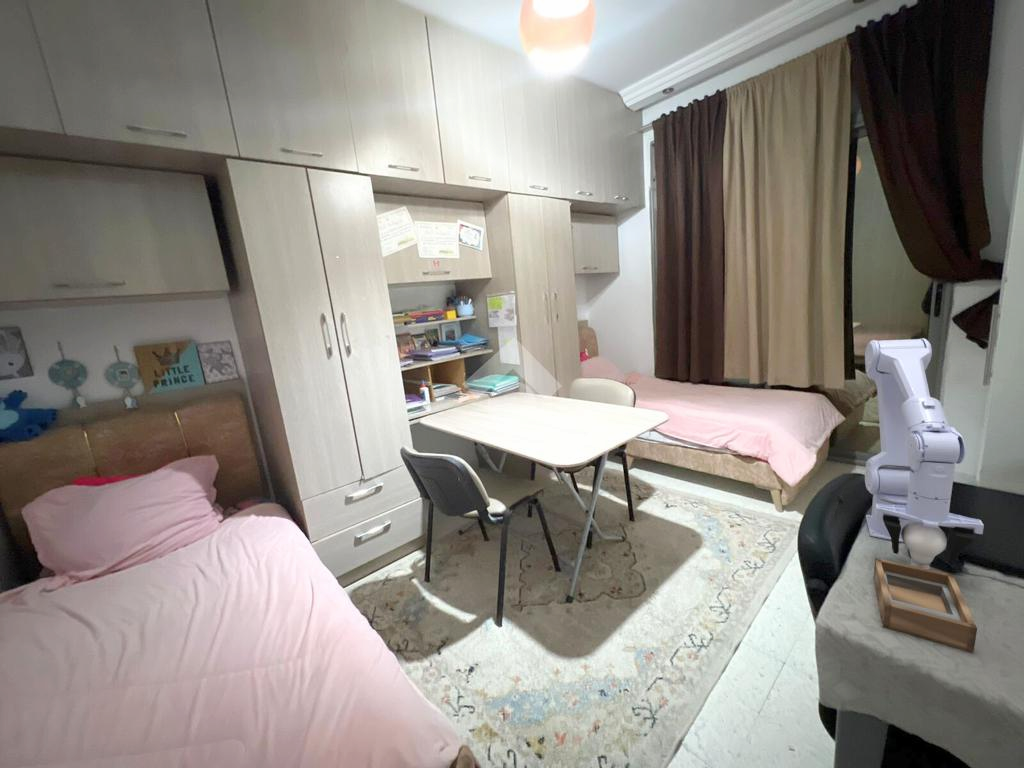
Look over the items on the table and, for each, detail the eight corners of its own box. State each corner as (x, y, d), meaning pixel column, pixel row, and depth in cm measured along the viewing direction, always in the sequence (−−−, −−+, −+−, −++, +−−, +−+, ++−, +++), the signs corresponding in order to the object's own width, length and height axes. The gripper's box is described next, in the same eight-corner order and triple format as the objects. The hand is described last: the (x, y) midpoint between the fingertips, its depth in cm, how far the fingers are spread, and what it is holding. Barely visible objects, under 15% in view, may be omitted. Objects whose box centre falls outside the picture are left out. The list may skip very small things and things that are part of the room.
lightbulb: (951, 584, 78) (958, 532, 76) (911, 583, 80) (917, 531, 77) (926, 563, 84) (932, 514, 82) (889, 562, 86) (894, 513, 83)
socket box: (873, 578, 82) (875, 557, 81) (949, 596, 76) (952, 574, 75) (882, 627, 71) (885, 604, 70) (973, 653, 65) (977, 628, 64)
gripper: (880, 494, 79) (874, 557, 82) (993, 510, 71) (982, 580, 74) (876, 479, 85) (870, 538, 88) (980, 492, 77) (970, 557, 79)
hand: (921, 556), depth 81 cm, fingers open, 7 cm apart
